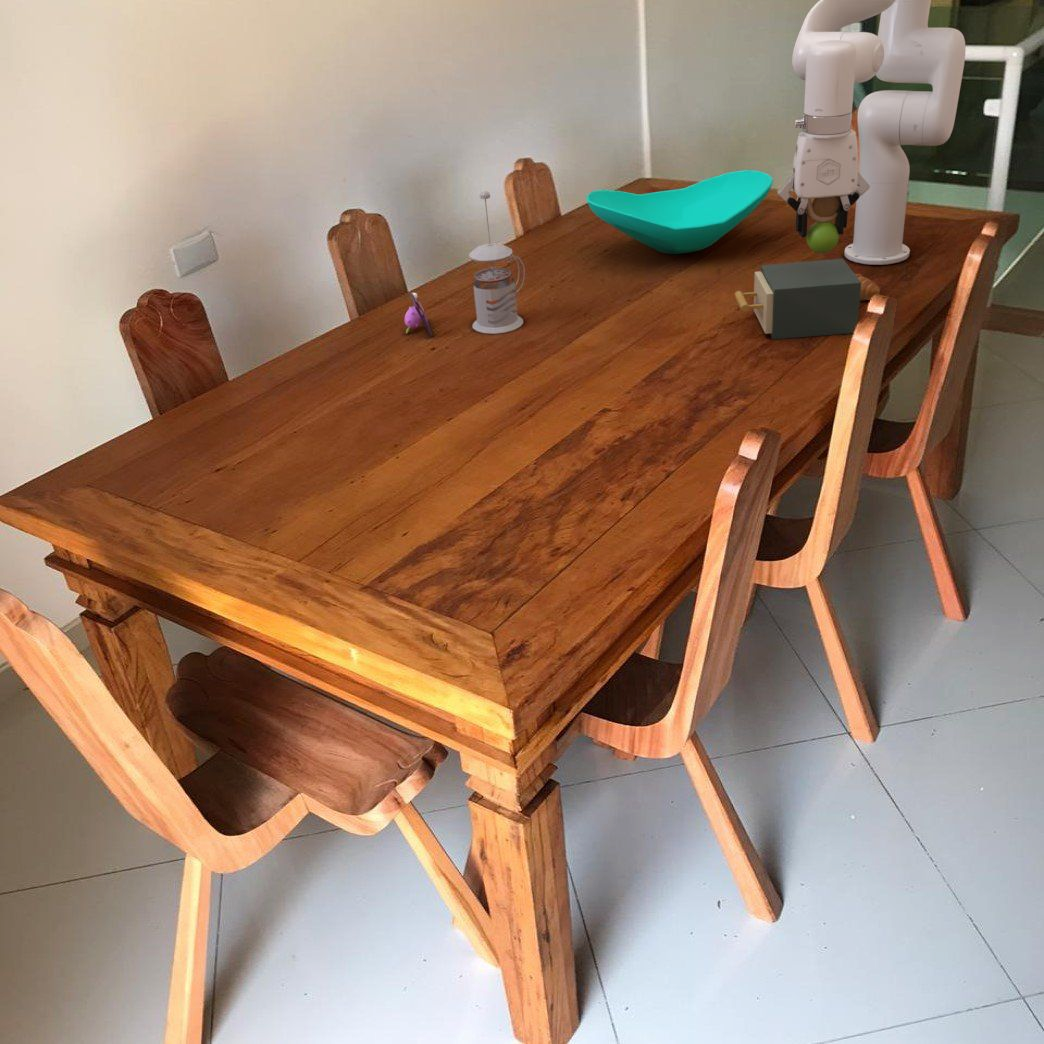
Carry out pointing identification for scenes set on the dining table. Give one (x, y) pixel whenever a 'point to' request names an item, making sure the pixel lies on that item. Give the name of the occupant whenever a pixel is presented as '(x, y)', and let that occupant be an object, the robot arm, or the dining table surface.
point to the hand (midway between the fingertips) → (820, 232)
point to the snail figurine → (822, 224)
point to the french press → (498, 314)
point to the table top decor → (683, 211)
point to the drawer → (759, 301)
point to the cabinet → (813, 298)
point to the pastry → (867, 288)
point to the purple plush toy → (415, 315)
